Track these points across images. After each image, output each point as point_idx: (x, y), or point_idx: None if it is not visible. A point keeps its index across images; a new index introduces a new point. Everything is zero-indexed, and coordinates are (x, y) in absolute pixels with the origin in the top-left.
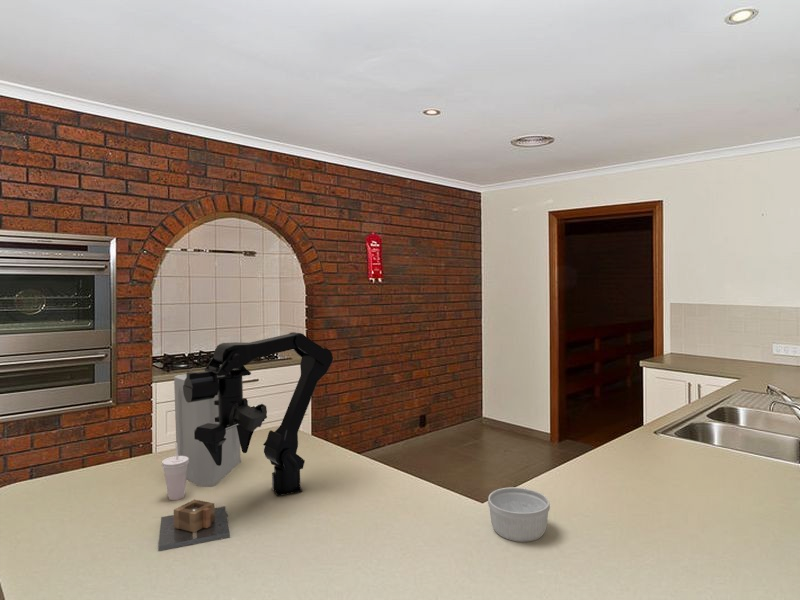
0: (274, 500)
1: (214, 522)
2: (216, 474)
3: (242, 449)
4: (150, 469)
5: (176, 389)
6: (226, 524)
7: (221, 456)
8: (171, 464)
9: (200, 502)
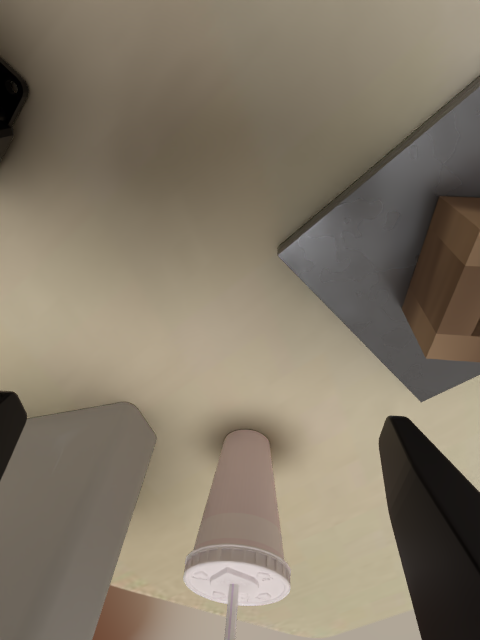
0: (75, 67)
1: (455, 186)
2: (98, 432)
3: (8, 444)
4: (146, 552)
5: None
6: (474, 101)
7: (445, 502)
8: (284, 579)
9: (466, 310)
